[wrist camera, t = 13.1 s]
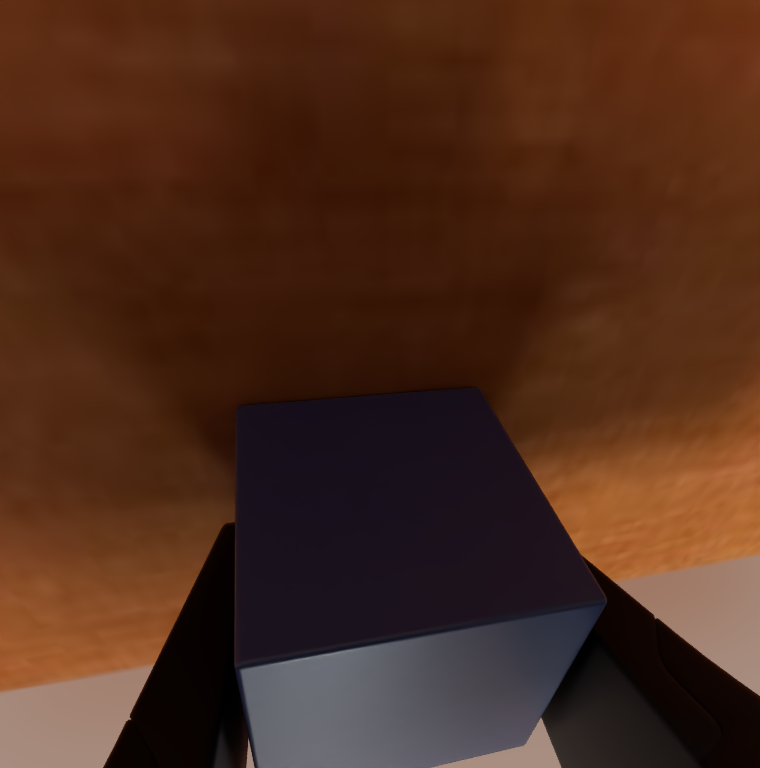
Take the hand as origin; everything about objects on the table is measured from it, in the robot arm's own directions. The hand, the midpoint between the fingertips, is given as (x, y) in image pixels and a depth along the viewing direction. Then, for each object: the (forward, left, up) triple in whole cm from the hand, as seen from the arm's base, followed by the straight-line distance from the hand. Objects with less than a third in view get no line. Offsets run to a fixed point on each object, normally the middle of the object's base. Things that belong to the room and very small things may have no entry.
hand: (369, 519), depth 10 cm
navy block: (0, 0, -1) cm, 1 cm away
